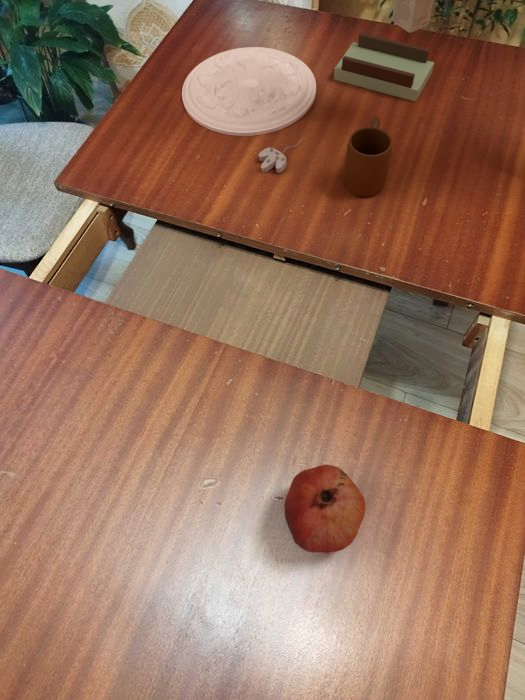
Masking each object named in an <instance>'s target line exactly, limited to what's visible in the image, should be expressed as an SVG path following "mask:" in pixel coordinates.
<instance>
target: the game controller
mask: <svg viewBox="0 0 525 700" xmlns="http://www.w3.org/2000/svg"><path fill="white" fill-rule="evenodd" d="M306 139H307V138H305V137H304V138H302V139H300V140H299V141H298V142H297V144H299V143H300V142H301V141H303V140H304V141H306ZM297 144H295V145H294V146H291V145H289V146H287V147H286V148H284V150H283V152H285V151H286V150H287V149H289V148H295V147H297ZM283 152H281V151H280V150H278V149H277V148H274V147H266V148H264V149H263V150H261V151H260V152H259V153H258V158H259V161H260V162H262V163H261V164H260V169H261V172H262V173H267V172H269V171H270V170H271V169H273V168H274V167H275V170H276V173H278V174H281V173H283V171H284V170H286V169H285V168H287V166H288V162H287V157H286V155H285V154H284V153H283Z"/></svg>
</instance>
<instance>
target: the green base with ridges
mask: <svg viewBox="0 0 525 700" xmlns="http://www.w3.org/2000/svg"><path fill="white" fill-rule="evenodd" d="M430 51H431V49H430V48H426V47H422V46H418V45H415V44H410V43H405V42H402V41H398V40H393V39H390V38H385V37H381V36H377V35H374V34H373V35H372V34H369V33H364V32H360V33H359V35H358V42H354V41H353V42H352V43H351V44H350V46H349V47H348V48H347V50H346V52H345V53H344V54H343V56H342V57H341V59H340V60H339V62H338V63H337V64H336V66H335V67H334V72H333V81H337V82H341V83H345V84H348V85H351V86H356V87H360V88H363V89H367V90H371V91H373V92H378V93H382V94H385V95H389V96H392V97H396V98H400V99H404V100H407V101H411V102H415V103H416V102H417V100H418V99H419V97H420V95H421V93H422V92H423V90H424V88H425V86H426V84H427V83H428V81H429V79H430V77H431V76H432V75H433V71H434V66H435V62H434V61H430V60H429V55H430Z"/></svg>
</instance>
